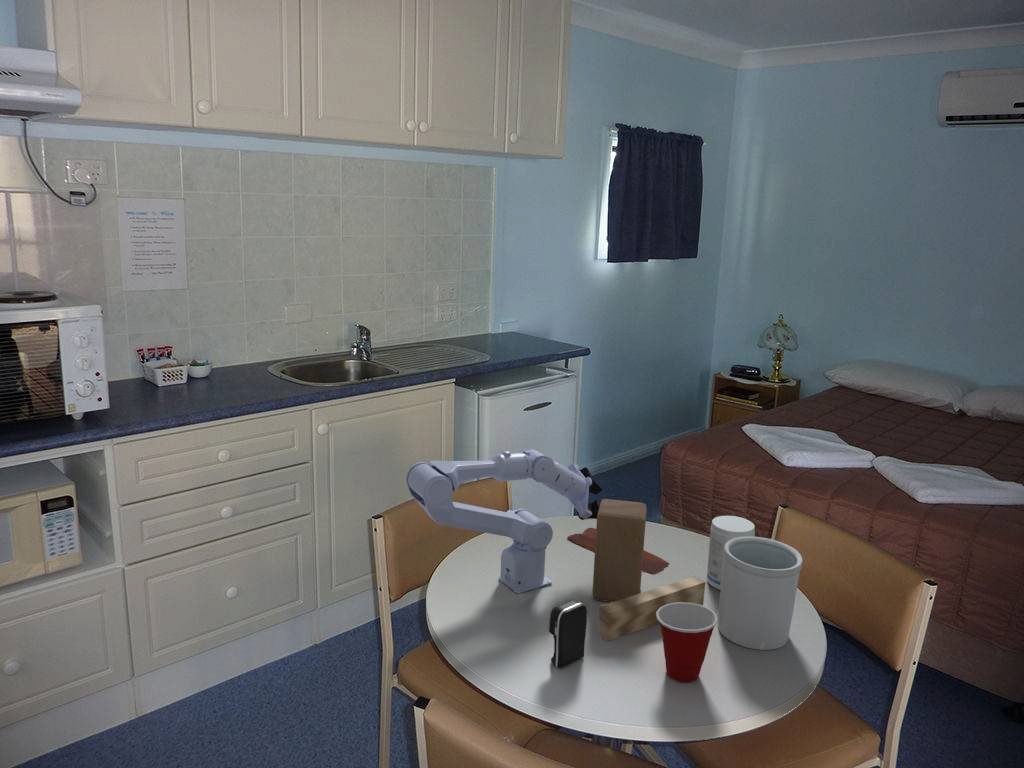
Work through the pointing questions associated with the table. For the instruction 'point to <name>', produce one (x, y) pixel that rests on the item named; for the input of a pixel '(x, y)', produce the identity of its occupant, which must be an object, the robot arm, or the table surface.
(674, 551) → the table surface
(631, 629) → the board
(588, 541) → the wooden tablet
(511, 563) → the robot arm
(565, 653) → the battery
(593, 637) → the table surface
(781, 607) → the utensil holder
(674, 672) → the plastic cup
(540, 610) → the table surface
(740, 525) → the supplement tub
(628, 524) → the block
